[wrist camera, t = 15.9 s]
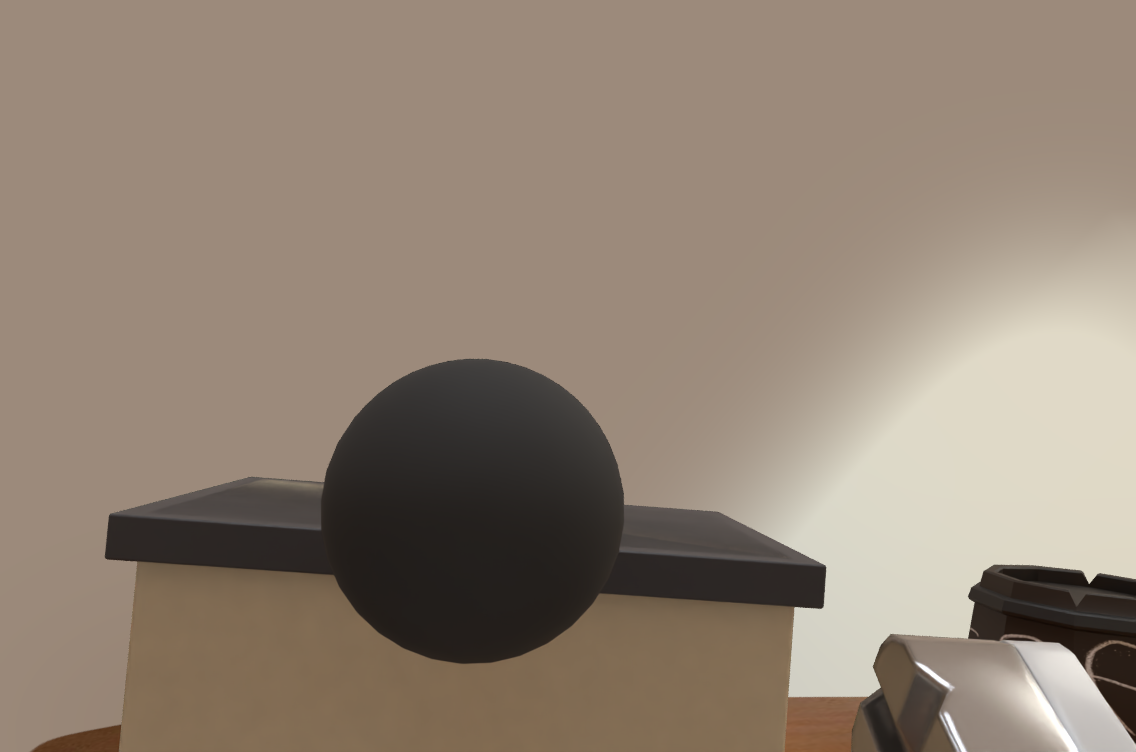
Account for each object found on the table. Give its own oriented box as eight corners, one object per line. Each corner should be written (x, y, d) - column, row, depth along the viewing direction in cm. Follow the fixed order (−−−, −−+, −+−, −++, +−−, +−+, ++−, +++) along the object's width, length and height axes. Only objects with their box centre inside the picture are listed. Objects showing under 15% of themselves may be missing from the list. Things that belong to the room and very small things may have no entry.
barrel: (1095, 828, 66) (1108, 605, 67) (915, 738, 83) (927, 561, 84) (1262, 807, 73) (1272, 605, 73) (1064, 728, 89) (1073, 564, 90)
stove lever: (700, 721, 7) (726, 370, 7) (202, 692, 7) (237, 330, 7) (556, 499, 23) (565, 396, 24) (412, 488, 23) (422, 384, 23)
